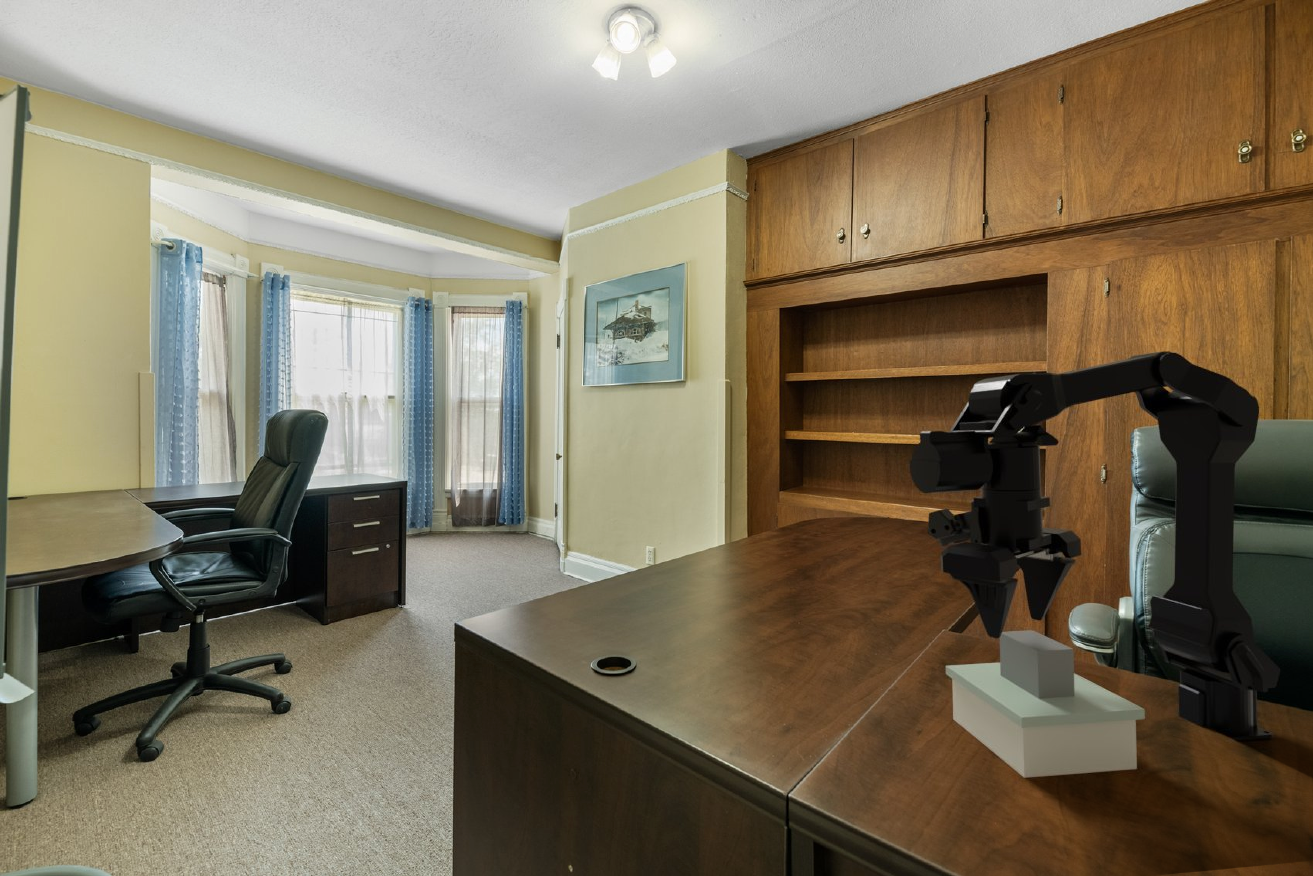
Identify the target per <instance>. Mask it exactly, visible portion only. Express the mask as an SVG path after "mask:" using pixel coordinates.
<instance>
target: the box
mask: <svg viewBox="0 0 1313 876" xmlns="http://www.w3.org/2000/svg"><path fill="white" fill-rule="evenodd" d="M951 680H952V684H951V685H952V718H953V721H955V722H956V723H957V724H958V725H959V726H960V727H962V728H964V730H965V731H967V732H968V733H969V734H970V735H972V736H973V737H974V738H975V739H977V741H979V742H980V743H981V744H983V745H984V746H985V747H986V748H988V749H989V750H990V751H991V752H992V753H993V754H994V755H996V756H997V757H998V758H1000V760H1002V761H1003V762H1004V763H1005V764H1007V765H1008V766H1009V767H1011V768H1012V769H1013V770H1014V771H1015V772H1016V773H1018V774H1019V775H1020V776H1022V777H1023V778H1025V779H1026V778H1037V777H1038V778H1039V777H1050V776H1051V777H1052V776H1053V777H1054V776H1063V775H1075V774H1077V775H1078V774H1088V773H1101V772H1103V773H1104V772H1116V771H1129V770H1137V769H1138V767H1137V766H1138V761H1137V760H1138V759H1137V757H1138V756H1137V724H1136V723H1137V722H1136V721H1137V720H1125V721H1111V722H1097V723H1082V724H1068V725H1054V726H1040V727H1026V728H1021V727H1020V726H1019V725H1017V724H1016V723H1014V722H1013V721H1012V720H1010V719H1009V718H1007V717H1006V716H1004V715H1003V714H1002V713H1000V712H999V711H997V710H996V709H995V708H993V707H992V706H990V705H989V704H987V703H986V702H985V701H983V700H982V699H980V698H979V697H978V696H976V695H975V694H973V693H972V692H971V691H969V690H968V689H966V688H965V687H963V686H962V685H961V684H959V683H958V682H956V681H955V680H954V679H952V678H951Z"/></svg>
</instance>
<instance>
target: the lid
mask: <svg viewBox="0 0 1313 876" xmlns="http://www.w3.org/2000/svg"><path fill="white" fill-rule="evenodd" d="M1074 653H1075V651H1074V648H1072V647H1070V646H1068V645H1066V644H1063V643H1061V642H1059V641H1057V640H1054V639H1052V638H1051V637H1048V636H1046V635H1044V634H1041V633H1040V632H1037V631H1035V630H1033V629H1032V630H1031V629H1030V630H1029V629H1028V630H1014V631H1013V630H1012V631H1002V633H1001V636H1000V638H999V662H987V663H985V662H984V663H983V662H982V663H972V664H971V663H970V664H969V663H967V664H952V665H951V664H950V665H945V674H946V675H947V676H948V677H949V678H951V680H952V679H954V680H955V681H956V682H958V683H959V684H961V685H962V686H963V687H965V688H966V689H968V690H969V691H971V692H972V693H973V694H975V695H976V696H978V697H979V698H980V699H982V700H983V701H985V702H986V703H987V704H989V705H990V706H992V707H993V708H995V709H996V710H997V711H999V712H1000V713H1002V714H1003V715H1004V716H1006V717H1007V718H1009V719H1010V720H1012V721H1013V722H1014V723H1016V724H1017V725H1019V726H1020V727H1021V728H1026V727H1040V726H1054V725H1068V724H1082V723H1097V722H1111V721H1125V720H1136V721H1139V720H1145V719H1146V717H1145V714H1146V711H1145V708H1143V707H1141V706H1139V705H1137V704H1136V703H1133V702H1132V701H1129V700H1127V699H1126V698H1124V697H1122V696H1120V695H1118V694H1116V693H1114V692H1111V691H1110V690H1107V689H1105V688H1104V687H1103V686H1100V685H1098V684H1096V683H1094V682H1093V681H1090V680H1089V679H1086V678H1084V677H1083V676H1080V675H1079V674H1077V673H1075V661H1074V660H1075V659H1074V657H1075V656H1074V655H1075V654H1074Z"/></svg>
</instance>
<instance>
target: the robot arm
mask: <svg viewBox="0 0 1313 876" xmlns="http://www.w3.org/2000/svg"><path fill="white" fill-rule="evenodd" d="M1166 388H1169V389H1170V390H1171V391H1169V390H1168V389H1166ZM1130 393H1134V394H1135V395H1136V398H1137V401H1138V405H1139V406H1140V408H1141V409H1142V410H1143V411H1144V412H1145V413H1147V414H1148V415H1150V416H1151V417H1153V418H1154V419H1155V420H1156V421H1157V425H1158V431H1159V440H1160V441H1161V443H1162V444H1163V446H1164V447H1165V449H1166V450H1167V451H1168V453H1169V455H1170V456H1171V457H1172V459H1173V460H1174V461H1175V515H1174V516H1175V517H1174V518H1175V519H1174V521H1175V524H1174V525H1175V527H1174V528H1175V529H1174V569H1173V570H1174V575H1173V576H1174V577H1173V583H1172V585H1171V586H1169V588H1168V589H1167V590H1166V592H1165V593H1164V594H1162V596H1161V595H1157V594H1156V595H1152V597H1151V599H1150V603H1149V604H1150V609H1151V615H1150V621H1149V624H1148V628H1149V629H1150V630H1153V631H1152V632H1153V638H1154V640H1155V643H1156V644H1157V643H1158V645H1159V647H1160V651H1161V653H1162V656H1163V659H1164V661H1165V662H1166V663H1169V664H1173V665H1175V666H1179V667H1180V668H1183V669H1179V672H1180V673H1179V674H1180V675H1179V676H1180V679H1179V680H1180V683H1178V685H1177V686H1178V687H1177V689H1178V690H1177V691H1178V709H1173V711H1174V712H1176V713H1178V717H1179V718H1182V719H1185V720H1186V721H1188V722H1190V723H1192V724H1193V725H1194V724H1195V725H1196V726H1198V727H1201V728H1210V729H1211V730H1213V731H1216V732H1217V733H1219V734H1222V735H1223V736H1226V737H1227V738H1229V739H1232V740H1234V741H1235V742H1238V741H1249V740H1250V741H1251V740H1262V739H1264V740H1265V739H1273V737H1274V733H1273V732H1271V731H1269V730H1266V728H1265V729H1264V728H1263V727H1261V726H1258V697H1257V696H1258V695H1257V692H1259V693H1268V690H1269V689H1272V688H1276V687H1277V685H1278V681H1279V677H1280V674H1281V668H1280V667H1279V666H1278V665H1277V664H1276V663H1275V662H1274V661H1273V660H1272V659H1271V658H1270V657H1269V656H1268V655H1267V654H1266V653H1265V652H1264V650H1263V649H1261V648H1260V647H1259V646H1258V644H1256V643H1255V635H1254V629H1253V621H1252V618H1251V615H1250V614H1249V613H1248V611H1247V609H1245V607H1244V606H1243V604H1242V602H1241V601H1240V599H1239V598H1238V596H1237V595H1236V594H1235V592H1234V588H1233V585H1234V583H1233V581H1234V580H1233V579H1234V578H1233V577H1234V575H1233V574H1234V536H1235V535H1234V530H1235V529H1234V527H1235V525H1234V524H1235V521H1234V520H1235V473H1236V472H1235V471H1236V470H1235V469H1236V464H1237V463H1238V461H1239V460H1240V459H1241V457H1242V456H1243V455H1244V454H1245V453H1246V451H1247V450H1248V449H1249V448H1250V447H1251V445H1252V444H1253V443H1254V442H1255V439H1256V434H1257V427H1258V423H1259V415H1260V405H1259V401H1258V398H1256V396H1253V395H1252V394H1251V393H1250V392H1249V391H1248V389H1246V388H1244V387H1243V386H1240V385H1239V384H1238V383H1236V382H1235V381H1234V380H1232V379H1231V378H1230V377H1228V376H1225V375H1223V374H1221V373H1219V372H1215V371H1213V370H1210V369H1207V368H1205V367H1201V366H1199V365H1196V364H1195V363H1192V362H1191V361H1189V360H1188V359H1186V357H1184V356H1182V355H1181V354H1179V353H1177V352H1172V351H1170V350H1167V351H1166V350H1165V351H1164V350H1163V351H1156V352H1150V353H1144V354H1142V353H1141V354H1138V355H1136V354H1135V355H1133V356H1130V357H1128V358H1127V359H1126V358H1125V359H1122V360H1118V361H1117V360H1116V361H1112V362H1109V363H1103V364H1099V365H1094V366H1089V367H1086V368H1084V367H1083V368H1080V369H1075V370H1069V371H1063V372H1060V373H1055V372H1025V373H1017V374H1016V373H1015V374H1009V375H1003V376H997V377H987V378H984V379H982V380H979V381H977V382H976V383H974V385H973V386H972V388H971V390H970V393H969V396H968V400H967V401H968V402H967V403H966V405H965V406H964V408H963V410H962V411H961V412H960V414H959V416H958V417H957V419H956V421H955V422H954V423H953V425H952V427H951V428H950V429H949V431H942V430H929V431H928V430H924V431H920V433H919V443H917V445H916V446H915V448H914V449H913V452H912V455H911V459H910V460H909V470H910V471H909V472H910V476H911V479H912V482H913V484H914V486H915V487H916V488H917V489H918V490H919V491H920V492H921V493H923V494H938V493H939V494H941V493H955V492H969V491H970V492H971V491H973V492H974V491H977V490H979V489H980V491H981V492H980V493H981V496H977V497H973V499H972V500H971V502H970V503H971V504H970V505H971V506H970V507H971V510H969V511H965V512H961V513H956V514H954V513H952V511H951V510H950V509H949V508H944V509H939V510H935V511H932V512H928V522H927V528H928V529H927V534H928V536H930V537H931V538H933V539H934V540H938V542H939V546H940V547H941V548H943V547H945V546H947V547H945V549H944V550H943V551H942V552H941V553H940V569H941V570H940V571H941V572H942V573H945V574H948V575H949V576H950V577H951V579H953V580H956V581H959V582H960V583H961V584H963V586H965V587H966V589H967V590H968V591H969V594H970V595H971V597H972V600H973V601H974V604H975V606H976V608H977V609H976V610H977V611H978V614H979V617H980V620H981V622H982V624H983V626H984V629H985V633H986V635H987V636H988V637H990V638H993V639H996V640H997V639H1000V636H1001V633H1002V632H1004V631H1003V630H1004V627H1005V626H1006V625H1005V624H1006V621H1007V619H1008V614H1009V611H1010V608H1011V605H1012V601H1013V598H1014V596H1015V593H1016V589H1017V586H1018V582H1019V578H1014V577H1015V575H1016V572H1017V570H1018V568H1020V570H1021V571H1022V574H1023V576H1022V577H1023V581H1024V587H1025V596H1026V601H1027V607H1028V610H1029V611H1028V612H1029V615H1030V618H1031V620H1034V621H1040V622H1041V621H1042V620H1044V618H1045V616H1046V614H1047V612H1048V610H1049V608H1050V606H1051V604H1052V603H1053V600H1054V599H1055V597H1056V595H1057V593H1058V591H1059V589H1060V587H1061V586H1062V584H1063V582H1064V580H1065V578H1066V577H1067V576H1068V573H1069V571H1070V569H1071V568H1072V567H1073V565H1075V564H1076V559H1075V558H1077V557H1078V556H1080V557H1081V555H1082V541H1081V540H1082V539H1081V538H1080V537H1079V536H1078V535H1077V534H1076V533H1075V531H1073V530H1072V529H1071V530H1069V529H1061V528H1052V527H1045V526H1043V524H1044V523H1043V508H1048V507H1051V499H1050V496H1042V480H1041V456H1040V455H1041V453H1040V452H1041V451H1040V447H1054V446H1058V444H1059V442H1060V441H1059V439H1058V438H1056V437H1055V436H1054V435H1052V434H1050V433H1049V432H1048V431H1046V430H1045V429H1044V427H1043V426H1042V425H1040V424H1041V423H1044V422H1046V421H1048V420H1050V419H1052V418H1055V417H1058V416H1059V415H1060V414H1061V413H1062V412H1064V411H1065V410H1066V409H1068V408H1071V407H1073V406H1076V405H1082V404H1084V403H1085V404H1086V403H1089V402H1094V401H1098V400H1104V399H1108V398H1112V397H1118V396H1122V395H1127V394H1130ZM989 439H991V440H990V441H989ZM966 541H968V542H966ZM951 544H953V545H951Z"/></svg>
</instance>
